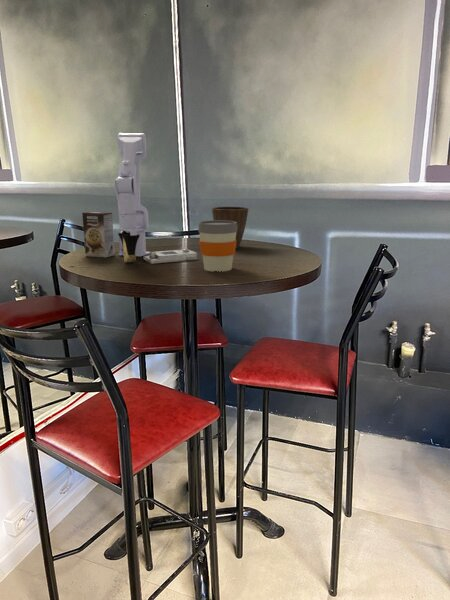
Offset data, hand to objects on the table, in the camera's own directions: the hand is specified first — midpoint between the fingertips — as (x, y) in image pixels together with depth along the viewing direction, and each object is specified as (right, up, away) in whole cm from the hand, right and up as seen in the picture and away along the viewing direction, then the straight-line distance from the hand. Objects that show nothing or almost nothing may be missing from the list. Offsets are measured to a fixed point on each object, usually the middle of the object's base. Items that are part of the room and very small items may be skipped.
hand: (129, 253), depth 161 cm
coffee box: (-14, +1, +15) cm, 20 cm away
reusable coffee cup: (+31, -6, -8) cm, 32 cm away
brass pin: (0, -2, +1) cm, 2 cm away
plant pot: (+35, +6, +33) cm, 48 cm away
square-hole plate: (+13, -1, +7) cm, 14 cm away
